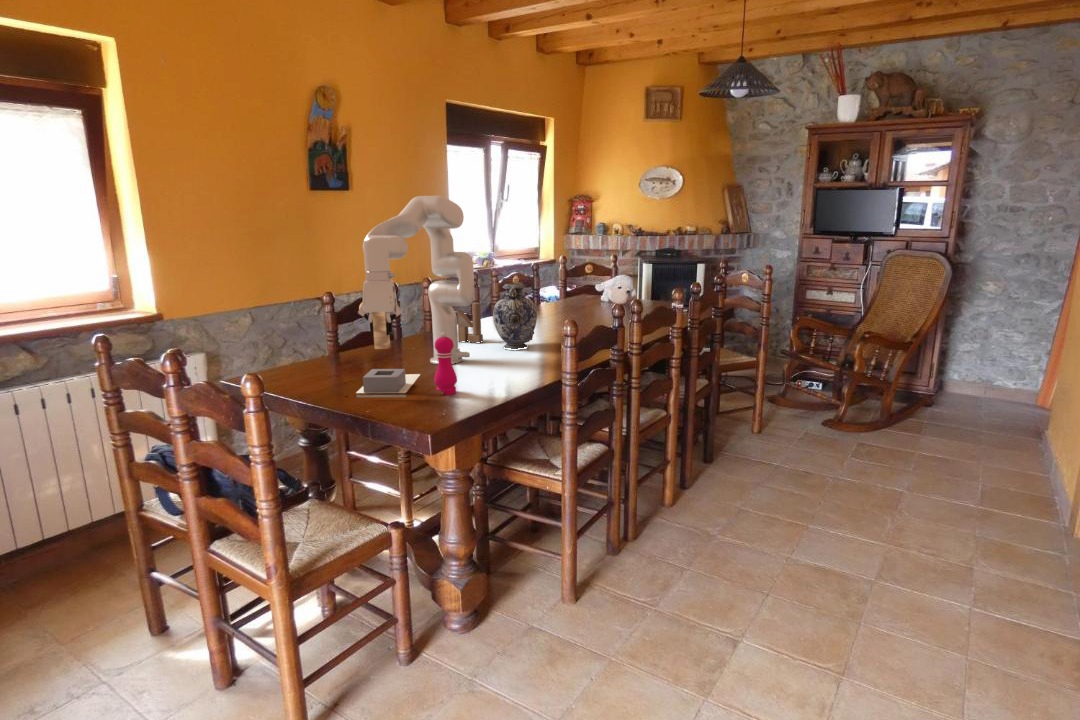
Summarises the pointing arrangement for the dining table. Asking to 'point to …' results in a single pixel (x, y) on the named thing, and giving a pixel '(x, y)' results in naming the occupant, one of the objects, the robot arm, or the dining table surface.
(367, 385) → the board
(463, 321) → the brown braced post frame
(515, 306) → the decorative vase
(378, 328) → the square wooden peg
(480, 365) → the dining table surface
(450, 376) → the pink bowling pin
